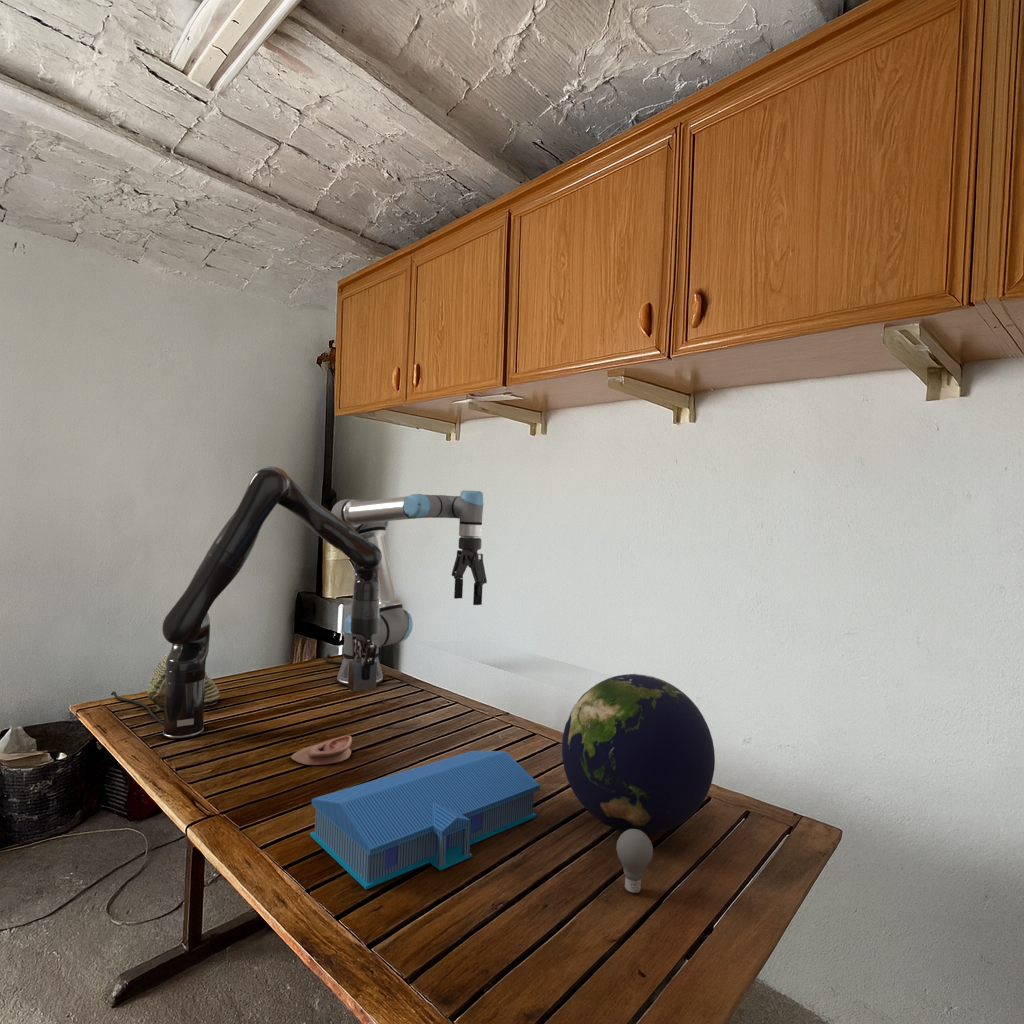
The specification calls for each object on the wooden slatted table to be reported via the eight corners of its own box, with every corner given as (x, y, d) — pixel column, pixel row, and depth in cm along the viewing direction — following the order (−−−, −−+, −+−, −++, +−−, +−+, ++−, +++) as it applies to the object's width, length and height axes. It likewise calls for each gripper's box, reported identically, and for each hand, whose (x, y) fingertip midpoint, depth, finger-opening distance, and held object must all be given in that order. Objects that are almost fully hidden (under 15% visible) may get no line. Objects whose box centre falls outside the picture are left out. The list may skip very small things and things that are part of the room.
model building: (376, 899, 100) (378, 836, 100) (308, 834, 119) (310, 781, 118) (548, 822, 127) (550, 773, 127) (472, 779, 145) (474, 735, 145)
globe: (537, 843, 119) (545, 684, 118) (581, 780, 147) (587, 651, 146) (703, 885, 108) (711, 711, 107) (716, 809, 135) (723, 670, 135)
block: (376, 689, 174) (377, 661, 174) (352, 692, 170) (354, 663, 170) (370, 685, 178) (371, 657, 178) (347, 687, 174) (349, 659, 174)
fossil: (144, 707, 182) (145, 655, 182) (212, 696, 194) (213, 647, 194) (151, 716, 175) (153, 662, 175) (221, 703, 188) (223, 653, 188)
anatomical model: (284, 745, 150) (309, 728, 161) (283, 762, 150) (308, 744, 161) (336, 752, 147) (358, 734, 158) (335, 769, 147) (357, 750, 158)
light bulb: (610, 879, 108) (613, 822, 108) (644, 879, 109) (647, 822, 109) (619, 902, 102) (622, 840, 102) (655, 901, 103) (658, 840, 103)
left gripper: (387, 619, 170) (384, 682, 170) (369, 610, 182) (366, 669, 182) (360, 621, 166) (357, 685, 166) (343, 611, 178) (341, 671, 178)
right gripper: (499, 540, 200) (496, 607, 201) (463, 534, 221) (460, 595, 222) (478, 540, 196) (475, 608, 197) (443, 534, 217) (441, 596, 218)
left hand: (362, 676), depth 174 cm, fingers closed on block, 4 cm apart
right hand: (467, 601), depth 209 cm, fingers open, 13 cm apart
